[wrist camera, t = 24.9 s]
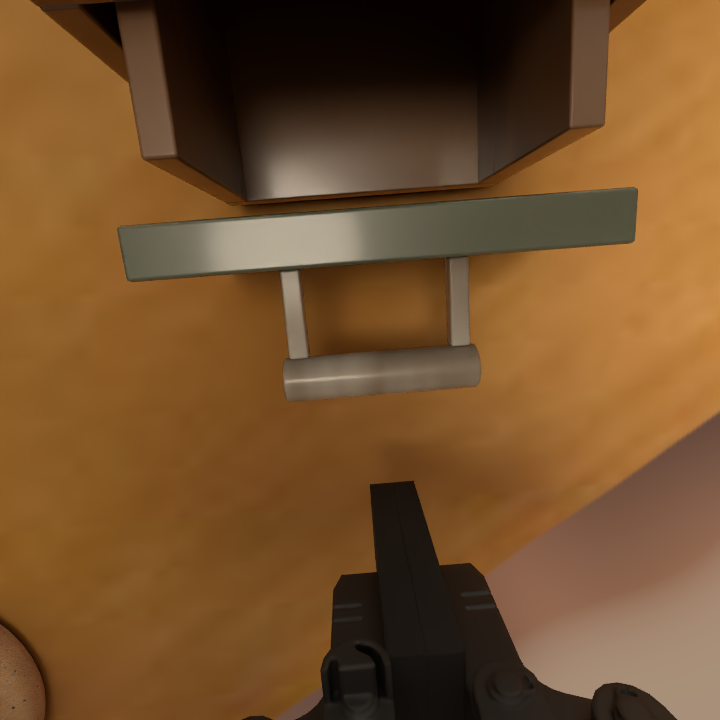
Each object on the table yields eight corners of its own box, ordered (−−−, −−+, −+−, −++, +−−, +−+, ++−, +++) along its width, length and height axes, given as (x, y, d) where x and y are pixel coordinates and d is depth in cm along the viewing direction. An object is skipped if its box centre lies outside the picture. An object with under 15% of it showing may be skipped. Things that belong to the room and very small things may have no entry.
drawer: (507, 351, 18) (625, 415, 10) (238, 374, 18) (158, 454, 10) (508, -165, 14) (694, -659, 7) (164, -144, 14) (-50, -624, 6)
